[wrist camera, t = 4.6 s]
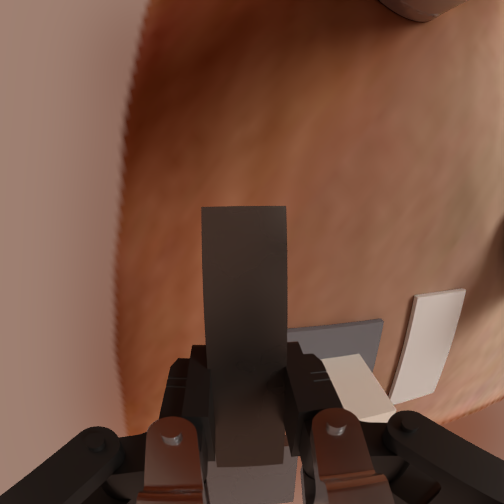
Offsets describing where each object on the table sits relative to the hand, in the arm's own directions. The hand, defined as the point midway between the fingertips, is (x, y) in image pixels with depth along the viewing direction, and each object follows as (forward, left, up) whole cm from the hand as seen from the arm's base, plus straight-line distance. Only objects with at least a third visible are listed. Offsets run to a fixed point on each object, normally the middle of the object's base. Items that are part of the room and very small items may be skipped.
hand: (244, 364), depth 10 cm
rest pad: (+11, +20, -13) cm, 26 cm away
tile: (+10, +8, -12) cm, 18 cm away
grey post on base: (+1, 0, -1) cm, 1 cm away
